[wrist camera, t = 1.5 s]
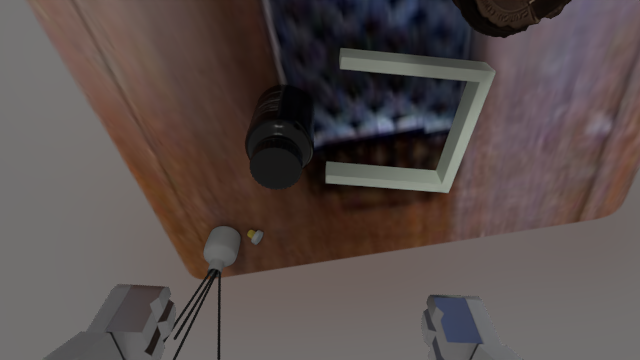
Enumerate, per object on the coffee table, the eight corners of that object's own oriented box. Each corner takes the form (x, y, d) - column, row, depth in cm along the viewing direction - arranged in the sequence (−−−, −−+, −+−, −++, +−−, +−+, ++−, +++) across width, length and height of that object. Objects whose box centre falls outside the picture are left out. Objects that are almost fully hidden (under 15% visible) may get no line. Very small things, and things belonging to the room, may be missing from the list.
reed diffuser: (205, 248, 56) (156, 381, 40) (187, 216, 52) (125, 349, 36) (267, 240, 55) (243, 374, 39) (254, 206, 51) (221, 341, 35)
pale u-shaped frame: (325, 169, 47) (325, 182, 44) (340, 47, 37) (341, 56, 35) (442, 178, 47) (448, 192, 45) (485, 62, 38) (496, 71, 36)
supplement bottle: (257, 133, 44) (237, 195, 34) (256, 79, 40) (234, 132, 30) (312, 138, 44) (309, 201, 34) (318, 86, 40) (315, 140, 30)
